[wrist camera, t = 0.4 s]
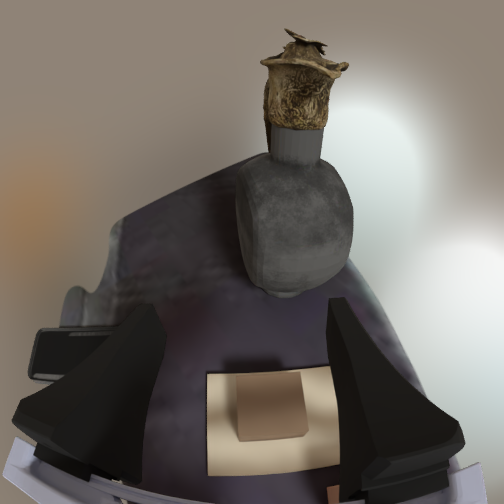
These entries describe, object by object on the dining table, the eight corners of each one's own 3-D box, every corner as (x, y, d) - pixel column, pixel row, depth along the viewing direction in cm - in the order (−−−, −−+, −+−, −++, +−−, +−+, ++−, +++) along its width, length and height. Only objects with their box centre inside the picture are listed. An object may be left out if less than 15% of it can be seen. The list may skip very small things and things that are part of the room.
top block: (375, 514, 17) (404, 515, 13) (331, 526, 16) (351, 532, 12) (370, 476, 20) (397, 470, 16) (326, 487, 20) (345, 485, 16)
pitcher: (254, 332, 33) (263, 22, 12) (229, 229, 47) (224, 29, 26) (340, 315, 35) (414, 49, 14) (295, 221, 48) (313, 32, 28)
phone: (131, 384, 27) (26, 378, 25) (134, 388, 27) (30, 382, 25) (135, 324, 32) (38, 327, 30) (137, 329, 33) (41, 331, 31)
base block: (303, 436, 23) (308, 430, 21) (239, 441, 23) (238, 436, 21) (295, 382, 28) (300, 371, 26) (236, 386, 27) (235, 375, 25)
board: (374, 455, 22) (376, 454, 21) (208, 475, 21) (208, 475, 20) (354, 364, 30) (355, 362, 29) (208, 376, 29) (207, 373, 28)
